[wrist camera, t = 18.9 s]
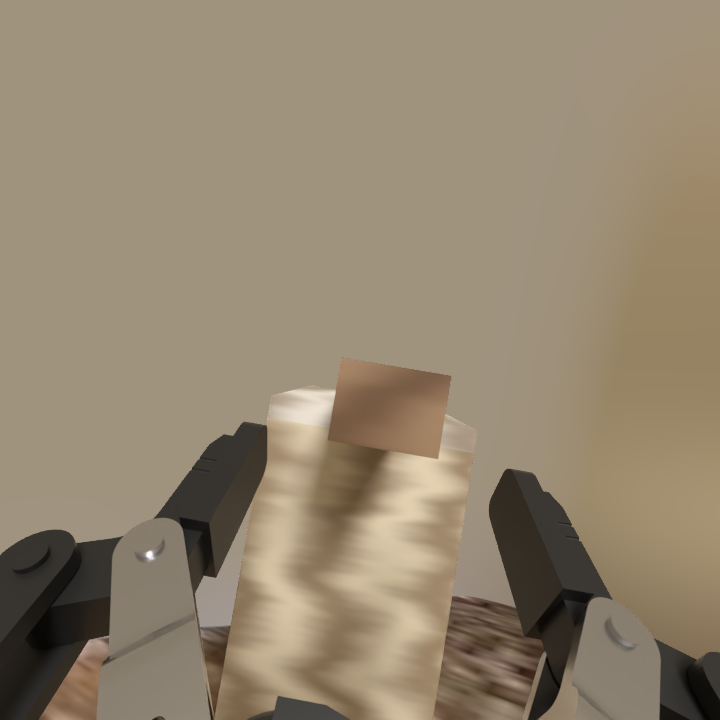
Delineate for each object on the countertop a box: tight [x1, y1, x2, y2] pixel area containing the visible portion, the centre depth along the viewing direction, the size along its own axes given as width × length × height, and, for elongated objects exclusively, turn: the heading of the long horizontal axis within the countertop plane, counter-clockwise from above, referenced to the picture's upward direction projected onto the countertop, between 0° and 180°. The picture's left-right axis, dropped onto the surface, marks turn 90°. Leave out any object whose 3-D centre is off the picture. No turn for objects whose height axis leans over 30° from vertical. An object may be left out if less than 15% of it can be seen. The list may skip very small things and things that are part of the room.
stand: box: [214, 386, 477, 720], centre depth 29 cm, size 14×16×32 cm
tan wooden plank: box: [328, 358, 451, 459], centre depth 24 cm, size 5×25×3 cm, turn 179°
